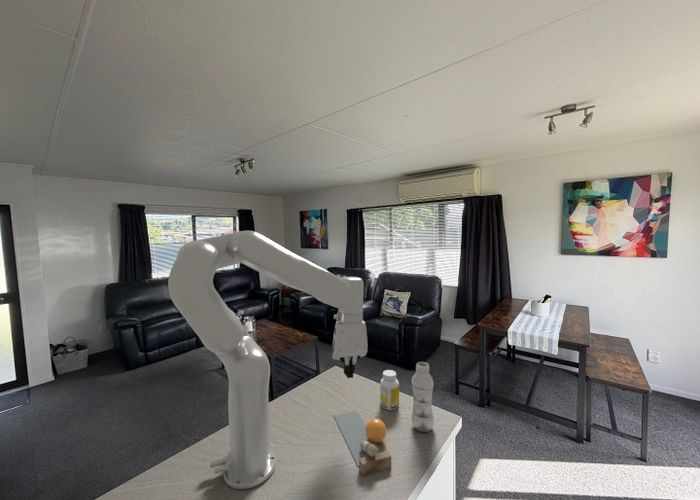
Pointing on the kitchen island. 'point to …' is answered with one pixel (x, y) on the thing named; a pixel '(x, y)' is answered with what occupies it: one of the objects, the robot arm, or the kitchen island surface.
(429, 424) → the plastic bottle
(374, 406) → the kitchen island surface
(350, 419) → the plate
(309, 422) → the kitchen island surface
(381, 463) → the back wall
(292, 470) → the kitchen island surface
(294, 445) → the kitchen island surface
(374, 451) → the pin
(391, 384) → the pill bottle
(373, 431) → the ball
